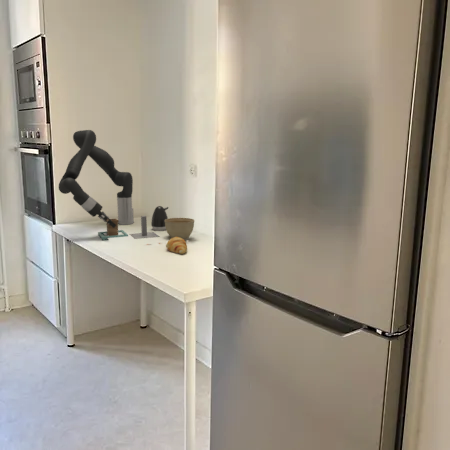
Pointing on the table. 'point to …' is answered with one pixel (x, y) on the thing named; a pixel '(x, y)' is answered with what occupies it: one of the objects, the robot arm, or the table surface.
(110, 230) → the collar
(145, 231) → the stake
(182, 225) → the planter bowl
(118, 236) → the tray
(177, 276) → the table surface
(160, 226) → the black electric kettle
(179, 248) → the croissant
